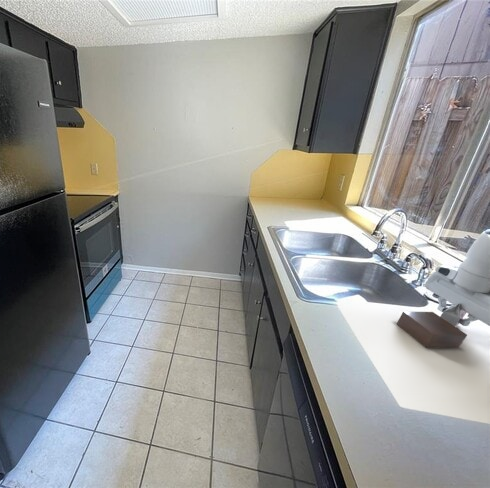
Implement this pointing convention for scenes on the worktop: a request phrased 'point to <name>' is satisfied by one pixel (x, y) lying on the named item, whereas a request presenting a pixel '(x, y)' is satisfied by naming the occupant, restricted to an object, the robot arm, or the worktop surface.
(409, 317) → the walnut block
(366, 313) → the worktop surface
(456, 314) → the white milk carton
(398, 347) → the worktop surface
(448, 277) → the robot arm
